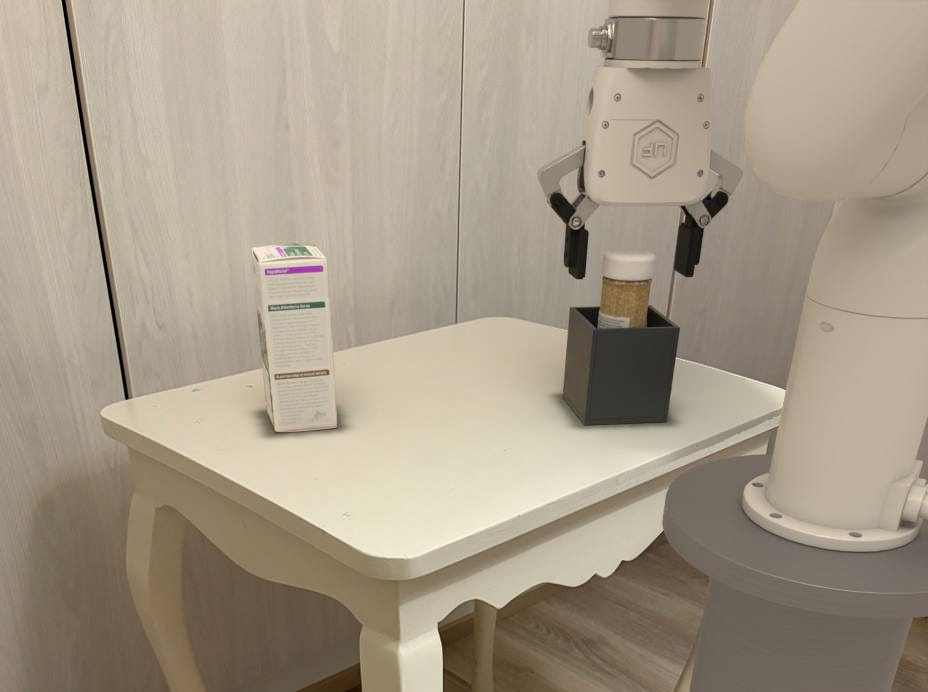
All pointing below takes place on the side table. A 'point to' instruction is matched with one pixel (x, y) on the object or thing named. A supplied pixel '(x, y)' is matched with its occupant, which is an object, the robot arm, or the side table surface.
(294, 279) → the syrup box
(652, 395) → the dark grey open box
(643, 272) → the sprinkles bottle
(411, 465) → the side table surface
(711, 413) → the side table surface
